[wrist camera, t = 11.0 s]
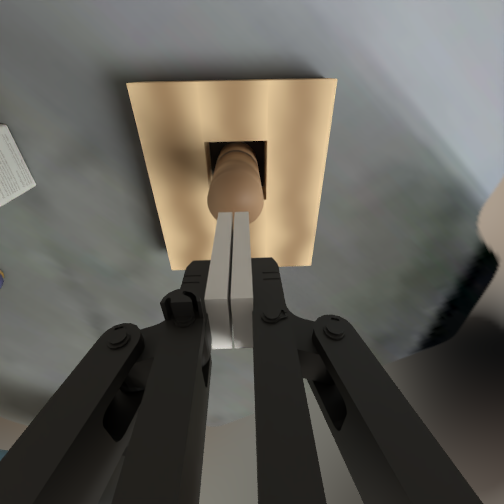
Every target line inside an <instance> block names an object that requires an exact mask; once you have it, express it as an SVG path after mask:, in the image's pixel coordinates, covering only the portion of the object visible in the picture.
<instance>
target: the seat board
mask: <svg viewBox="0 0 504 504" xmlns="http://www.w3.org/2000/svg"><path fill="white" fill-rule="evenodd" d="M126 84H127V88H128V92H129V97H130V101H131V105H132V109H133V113H134V117H135V121H136V125H137V129H138V133H139V137H140V141H141V146H142V150H143V154H144V158H145V162H146V166H147V170H148V174H149V178H150V182H151V186H152V190H153V195H154V199H155V203H156V207H157V211H158V215H159V219H160V223H161V227H162V231H163V235H164V240H165V244H166V248H167V252H168V256H169V260H170V264H171V268H172V270H186V267H187V266H188V265H189V264H190V263H191V262H192V261H195V260H211V255H212V249H213V243H214V237H215V230H216V224H217V220H216V219H215V218H214V217H213V216H212V214H211V213H210V211H209V208H208V204H207V196H208V192H209V188H210V185H211V181H212V177H213V176H212V167H211V157H210V147H209V142H230V141H264V187H262V192H263V197H264V206H263V209H262V212H261V214H260V215H259V217H258V218H257V219H256V220H255V221H254V222H252V223H250V224H249V230H250V248H251V258H264V257H272V258H273V259H274V260H275V261H276V262H277V263H278V267H282V266H311V261H312V254H313V247H314V240H315V233H316V226H317V219H318V212H319V205H320V198H321V191H322V184H323V177H324V170H325V163H326V156H327V149H328V142H329V135H330V128H331V121H332V114H333V107H334V100H335V92H336V85H337V79H332V78H302V79H252V80H202V81H152V82H133V83H126ZM233 229H234V227H233Z"/></svg>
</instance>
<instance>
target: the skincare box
mask: <svg viewBox="0 0 504 504" xmlns="http://www.w3.org/2000/svg"><path fill="white" fill-rule="evenodd" d="M35 186H36V183H35V181H34V179H33V177H32V175H31V173H30V171H29V169H28V167H27V165H26V163H25V161H24V159H23V157H22V155H21V153H20V151H19V149H18V147H17V145H16V143H15V141H14V139H13V137H12V135H11V133H10V131H9V129H8V127H7V125H4V124H0V207H1V206H3V205H5V204H6V203H8V202H10V201H11V200H13V199H15V198H16V197H18V196H20V195H21V194H23V193H25V192H26V191H28V190H30V189H32V188H33V187H35Z"/></svg>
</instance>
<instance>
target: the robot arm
mask: <svg viewBox="0 0 504 504" xmlns="http://www.w3.org/2000/svg"><path fill="white" fill-rule="evenodd" d="M160 305H161V308H162V311H163V314H164V318H165V321H163V322H161V323H160V324H157V325H154V326H151V327H148V328H144V329H141V330H140V329H139V328H138V327H137V325H134V324H131V323H123V324H119V325H116V326H114V327H112V328H110V329H108V330H107V331H106V332H105V333H104V334H103V335H102V336H101V337H100V338H99V339H98V340H97V342H96V343H95V344H94V345H93V347H92V348H91V349H90V350H89V352H88V353H87V354H86V355H85V357H84V358H83V359H82V360H81V361H80V363H79V364H78V365H77V366H76V368H75V369H74V370H73V371H72V373H71V374H70V375H69V376H68V378H67V379H66V380H65V381H64V383H63V384H62V385H61V386H60V388H59V389H58V390H57V391H56V392H55V394H54V395H53V396H52V397H51V399H50V400H49V401H48V402H47V404H46V405H45V406H44V407H43V409H42V410H41V411H40V412H39V414H38V415H37V416H36V417H35V419H34V420H33V421H32V422H31V423H30V425H29V426H28V427H27V428H26V430H25V431H24V432H23V433H22V435H21V436H20V437H19V439H18V440H17V441H16V442H15V443H14V445H13V446H12V447H11V448H10V450H9V451H8V450H0V504H199V497H200V486H201V474H202V464H203V453H204V442H205V430H206V420H207V409H208V398H209V387H210V376H211V365H212V361H211V354H210V353H211V344H212V348H213V349H228V348H232V328H233V332H234V344H235V348H253V358H254V390H255V419H256V420H255V421H256V451H257V482H258V504H327V503H326V498H325V493H324V488H323V483H322V477H321V472H320V467H319V462H318V456H317V451H316V446H315V440H314V435H313V430H312V425H311V420H310V414H309V409H308V404H307V398H306V393H305V388H304V383H303V378H306V379H307V381H308V383H309V385H310V387H311V389H312V391H313V394H314V396H315V398H316V400H317V402H318V404H319V407H320V409H321V411H322V413H323V415H324V418H325V420H326V422H327V424H328V426H329V429H330V431H331V433H332V435H333V437H334V439H335V442H336V444H337V446H338V448H339V450H340V453H341V455H342V457H343V459H344V461H345V463H346V465H347V468H348V470H349V472H350V474H351V476H352V479H353V481H354V483H355V485H356V487H357V489H358V491H359V494H360V496H361V498H362V501H363V503H364V504H483V503H482V501H481V500H480V499H479V497H478V496H477V495H476V493H475V492H474V491H473V489H472V488H471V487H470V485H469V484H468V482H467V481H466V480H465V478H464V477H463V476H462V474H461V473H460V472H459V470H458V469H457V468H456V466H455V465H454V464H453V462H452V461H451V459H450V458H449V457H448V455H447V454H446V453H445V451H444V450H443V448H442V447H441V446H440V444H439V443H438V442H437V440H436V439H435V438H434V436H433V435H432V433H431V432H430V431H429V429H428V428H427V427H426V425H425V424H424V423H423V421H422V420H421V419H420V417H419V416H418V414H417V413H416V412H415V411H414V409H413V408H412V406H411V405H410V404H409V402H408V401H407V400H406V398H405V397H404V395H403V394H402V393H401V391H400V390H399V389H398V387H397V386H396V385H395V383H394V382H393V380H392V379H391V378H390V376H389V375H388V374H387V372H386V371H385V370H384V368H383V367H382V366H381V364H380V363H379V361H378V360H377V359H376V357H375V356H374V355H373V353H372V352H371V351H370V349H369V348H368V346H367V345H366V344H365V342H364V341H363V340H362V338H361V337H360V336H359V334H358V333H357V332H356V330H355V329H354V327H353V326H352V325H351V324H350V323H349V322H348V321H347V320H345V319H343V318H341V317H340V316H335V315H324V316H321V317H319V318H318V319H317V320H316V321H315V322H314V321H310V320H306V319H302V318H299V317H297V316H295V315H294V314H292V313H291V312H290V311H289V310H288V308H287V306H286V304H285V299H284V293H283V288H282V283H281V278H280V273H279V267H278V263H277V262H276V261H275V260H274V259H273V258H272V257H264V258H251V248H250V230H249V212H235V215H234V229H233V214H232V212H220V213H218V218H217V224H216V230H215V237H214V243H213V249H212V255H211V260H195V261H192V262H191V263H190V264H189V265H188V266H187V267H186V270H185V274H184V277H183V281H182V285H181V288H180V289H177V290H174V291H172V292H170V293H168V294H167V295H166V296H165V297H163V299H162V301H161V302H160Z"/></svg>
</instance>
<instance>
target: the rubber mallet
mask: <svg viewBox="0 0 504 504" xmlns="http://www.w3.org/2000/svg"><path fill="white" fill-rule="evenodd" d="M3 278H4V274H3V272H2V271H1V270H0V288H1V287H2V285H3V282H4V280H3Z"/></svg>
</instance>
